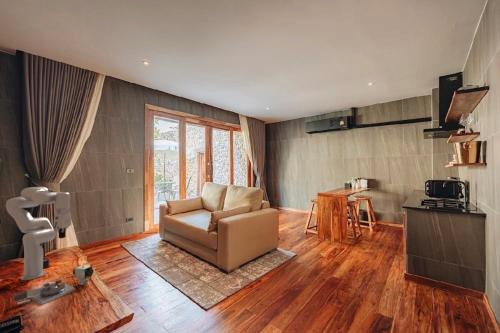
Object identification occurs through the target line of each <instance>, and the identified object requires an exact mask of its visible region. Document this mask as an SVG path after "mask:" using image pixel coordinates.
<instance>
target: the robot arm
mask: <svg viewBox="0 0 500 333" xmlns="http://www.w3.org/2000/svg"><path fill="white" fill-rule="evenodd" d="M49 204H54V217H53V225H52V223H51V221H50V220H49V218H47V217H45V216H40V217H33V216H32V214H31V213H30V212H29V211H28V210H25V208H34V207H35V208H36V207H37V206H39V205H49ZM5 208H6V212H7V213H8V214H9V215H10V216H11V217H12V218H13V219H14V221H15V223H16V226H17V227H18V228H19V231H20V232H21V233H22V234H23V233H24V234H23V237H22V244H23V249H24V250H23V253H24V257H23V260H24V261H23V262H24V263H23V275H22V276H20V280H21V281H30V280H34V279H38V278H41V277H43V276H45V275H46V274H47V272H46V270H44V248H43V247H42V246H41V245H40V244H44V243H47V242H51V241H53V240H54V239H55V238H56V236H57V235H56V232H57V233H58V239H65V238H66V237H67V236H66V232H67V229H68V228H69V227H71V226H72V214H71V211H70V210H71V194H70V193H69V192H67V191H65V192H64V191H51V192H49V189H48V188H47V187H45V186H32V187H31V186H30V187H25V188H24V189H22V190H21V192H20V196H15V197H12V198H9V199H8V200H7V201H6V203H5Z"/></svg>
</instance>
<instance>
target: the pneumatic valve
mask: <svg viewBox="0 0 500 333" xmlns="http://www.w3.org/2000/svg"><path fill="white" fill-rule="evenodd" d="M94 272H95V270H94V269H93V265H88V264H87V265H84V264H83V265H82V264H81V265H78V266H76V267H74V269H73V271H72V274H73V276H74V278H75V279H78V285H79V286H84V285H86V284H88V282H89V280H88V278H91V277H92V276H93V274H94Z"/></svg>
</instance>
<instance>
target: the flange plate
mask: <svg viewBox="0 0 500 333" xmlns="http://www.w3.org/2000/svg"><path fill="white" fill-rule="evenodd" d="M75 291H76V287H73V286H72V285H69V284H67V283H65V289H64V290H62V291H61V292H59V293H56V294H53V295H49V296H41V295H40V294H36V295H33V296H30V297H28V298H29V299H24V300H21V301H19V302H17V303H16V304H17V306H18V305H22V304H25V303H28V302H31V300H32V301H34V302H35V303H37V304H40V305H45V304H47V303H49V302H51V301H54V300H56V299H59V298H61V297H63V296H66V295H68V294H70V293H73V292H75Z"/></svg>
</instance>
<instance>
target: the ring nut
mask: <svg viewBox="0 0 500 333" xmlns="http://www.w3.org/2000/svg"><path fill="white" fill-rule="evenodd" d="M62 280H63V279H57V280H55V282H54V283H49V282H45V283H43V285H42V286H41V287H39V288H35V289H32V290H29V291H24V292H19V293H16V294H13V302H16V301H20V300H21V301H22V300H25V299H27V298H29V297H30V296H33V295H36V294H40V295H41V296H49V295H53V294H56V293H59V292H61V291H62V290H64V289H65V284H66V283H65V282H63V281H62Z"/></svg>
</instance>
